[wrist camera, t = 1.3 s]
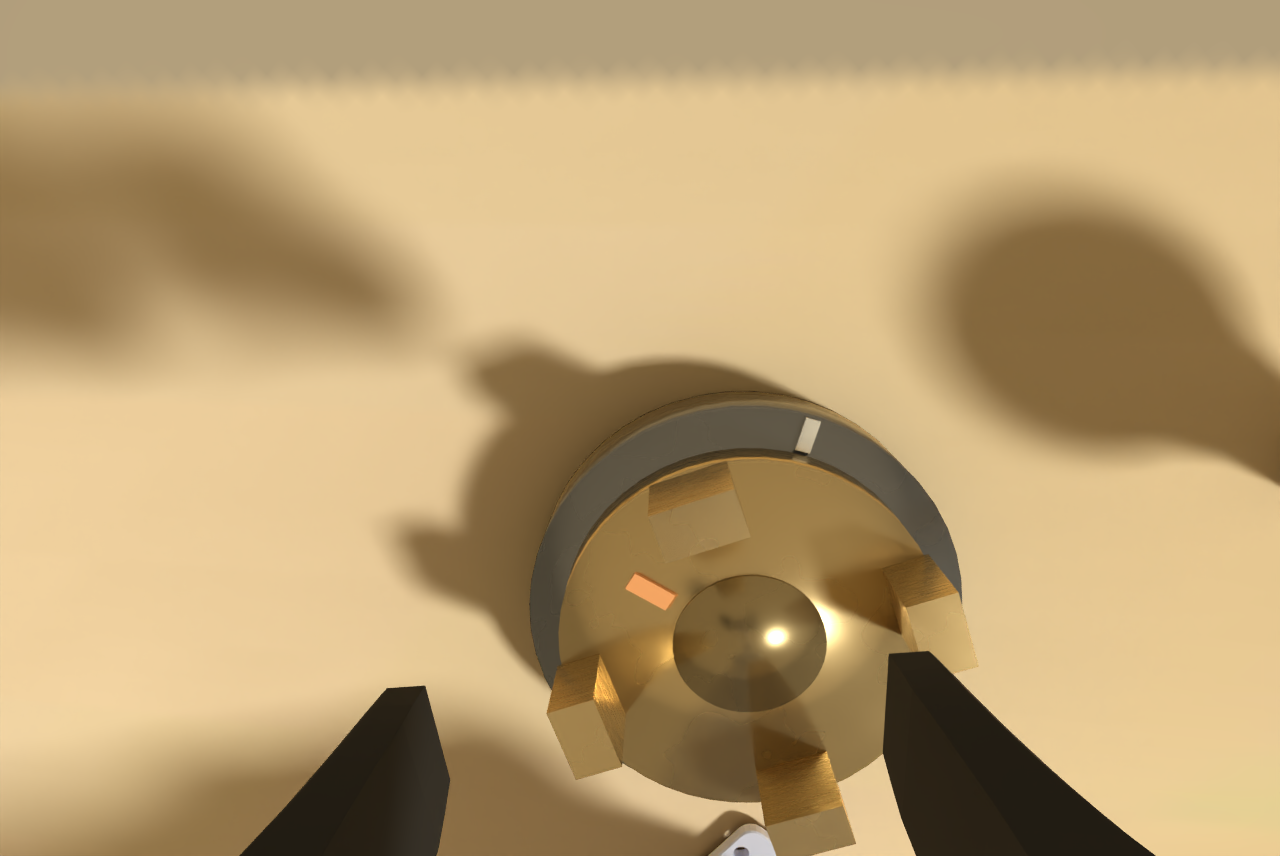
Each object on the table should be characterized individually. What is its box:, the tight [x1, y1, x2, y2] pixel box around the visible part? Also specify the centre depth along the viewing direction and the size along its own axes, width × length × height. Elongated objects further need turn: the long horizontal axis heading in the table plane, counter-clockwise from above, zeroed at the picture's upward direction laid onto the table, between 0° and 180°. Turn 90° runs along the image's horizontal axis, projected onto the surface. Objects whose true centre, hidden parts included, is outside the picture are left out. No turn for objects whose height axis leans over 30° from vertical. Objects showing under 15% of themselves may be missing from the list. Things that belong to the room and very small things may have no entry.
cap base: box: [529, 391, 962, 768], centre depth 22 cm, size 12×12×2 cm
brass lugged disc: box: [547, 448, 978, 856], centre depth 19 cm, size 10×10×3 cm
